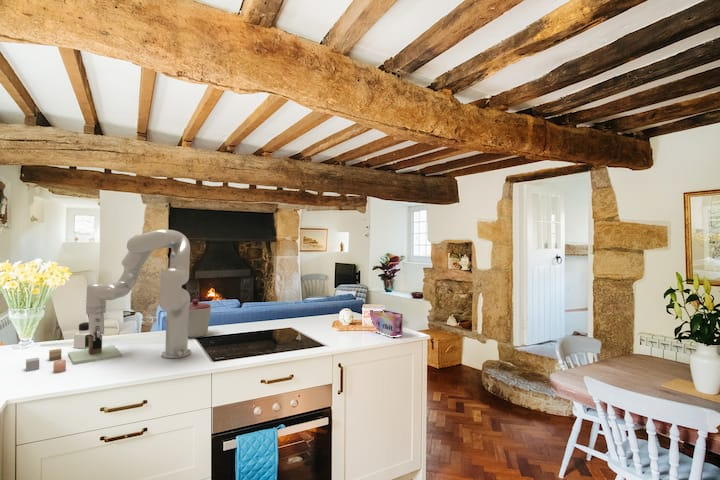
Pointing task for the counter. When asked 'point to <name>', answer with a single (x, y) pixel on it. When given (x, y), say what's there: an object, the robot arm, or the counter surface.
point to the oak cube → (55, 354)
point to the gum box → (387, 322)
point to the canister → (198, 319)
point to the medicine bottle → (82, 336)
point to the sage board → (85, 357)
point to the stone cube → (32, 364)
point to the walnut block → (90, 349)
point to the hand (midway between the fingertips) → (95, 346)
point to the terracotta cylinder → (59, 366)
